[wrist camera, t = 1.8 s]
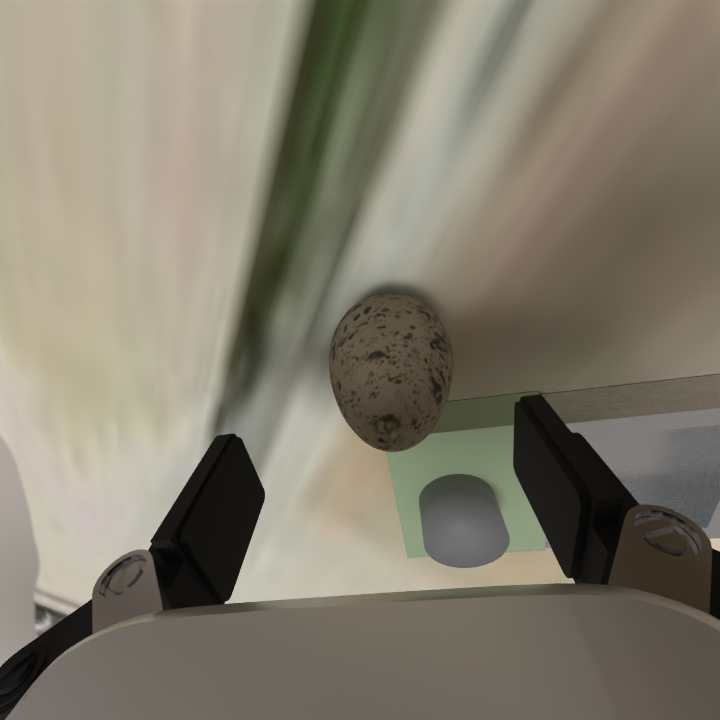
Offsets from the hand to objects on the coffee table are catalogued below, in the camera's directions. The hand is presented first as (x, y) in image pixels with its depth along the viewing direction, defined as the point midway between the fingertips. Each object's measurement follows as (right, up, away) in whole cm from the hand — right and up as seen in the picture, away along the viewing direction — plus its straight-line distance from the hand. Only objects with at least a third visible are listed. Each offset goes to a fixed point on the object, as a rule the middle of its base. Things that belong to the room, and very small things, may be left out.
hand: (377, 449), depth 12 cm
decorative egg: (+1, +5, +9) cm, 10 cm away
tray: (+18, -3, +12) cm, 22 cm away
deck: (+7, -5, +14) cm, 16 cm away
